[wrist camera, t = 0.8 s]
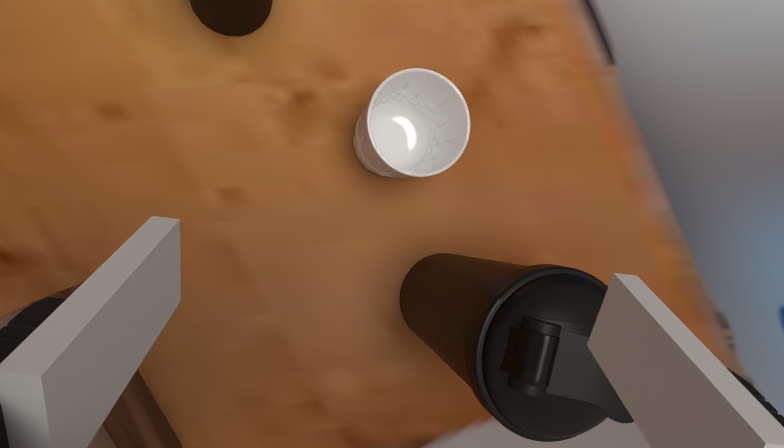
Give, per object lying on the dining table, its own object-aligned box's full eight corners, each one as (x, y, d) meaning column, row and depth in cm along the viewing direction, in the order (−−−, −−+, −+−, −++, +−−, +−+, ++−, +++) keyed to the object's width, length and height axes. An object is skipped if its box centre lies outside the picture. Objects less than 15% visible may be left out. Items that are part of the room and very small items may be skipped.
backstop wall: (147, 465, 42) (112, 541, 33) (48, 299, 40) (-21, 327, 31) (181, 446, 43) (157, 515, 33) (85, 281, 41) (29, 303, 31)
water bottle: (477, 359, 49) (651, 482, 27) (378, 338, 47) (480, 456, 25) (502, 258, 50) (694, 297, 27) (405, 232, 47) (529, 253, 25)
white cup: (370, 198, 46) (397, 195, 37) (330, 119, 45) (348, 95, 36) (442, 160, 48) (487, 148, 38) (406, 83, 47) (442, 50, 37)
